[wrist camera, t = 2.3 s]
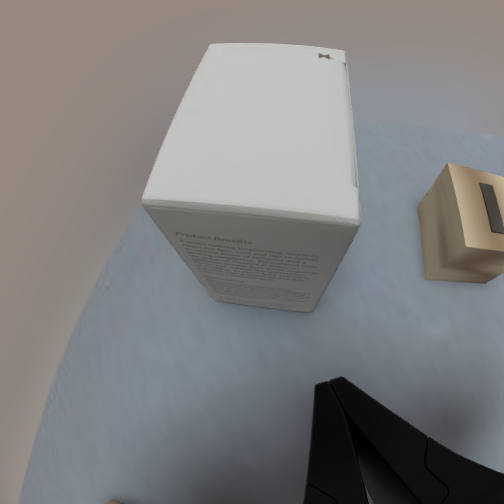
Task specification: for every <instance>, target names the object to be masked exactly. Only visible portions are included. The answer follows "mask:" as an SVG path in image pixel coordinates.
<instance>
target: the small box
mask: <svg viewBox="0 0 504 504" xmlns="http://www.w3.org/2000/svg"><path fill="white" fill-rule="evenodd" d="M140 201H141V203H142V205H143V207H144V209H145V210H146V211H147V213H148V214H149V215H150V217H151V218H152V220H153V221H154V222H155V224H156V225H157V226H158V228H159V229H160V230H161V232H162V233H163V234H164V235H165V237H166V238H167V240H168V241H169V242H170V244H171V245H172V246H173V248H174V249H175V250H176V252H177V253H178V254H179V256H180V257H181V258H182V260H183V261H184V262H185V263H186V265H187V266H188V267H189V269H190V270H191V271H192V272H193V274H194V275H195V276H196V278H197V279H198V280H199V281H200V283H201V284H202V285H203V286H204V288H205V289H206V290H207V291H208V293H209V294H210V295H211V296H212V298H213V299H214V300H216V301H223V302H229V303H235V304H242V305H249V306H257V307H265V308H273V309H281V310H290V311H300V312H312V311H313V310H314V308H315V306H316V305H317V303H318V301H319V299H320V298H321V296H322V294H323V293H324V291H325V289H326V287H327V286H328V284H329V282H330V281H331V279H332V277H333V275H334V273H335V272H336V270H337V268H338V266H339V264H340V262H341V261H342V259H343V257H344V255H345V254H346V252H347V250H348V248H349V246H350V244H351V243H352V241H353V238H354V236H355V235H356V233H357V231H358V229H359V227H360V225H361V221H362V216H361V206H360V194H359V184H358V172H357V160H356V146H355V133H354V123H353V115H352V104H351V95H350V86H349V77H348V63H347V53H346V52H345V51H342V50H336V49H329V48H322V47H312V46H303V45H287V44H268V43H225V44H224V43H223V44H211V45H209V46H208V48H207V50H206V52H205V54H204V55H203V57H202V59H201V61H200V63H199V65H198V66H197V68H196V70H195V73H194V75H193V77H192V79H191V81H190V83H189V85H188V87H187V89H186V91H185V93H184V95H183V97H182V100H181V102H180V104H179V106H178V108H177V110H176V112H175V115H174V117H173V119H172V122H171V124H170V127H169V128H168V131H167V133H166V135H165V138H164V140H163V142H162V145H161V147H160V150H159V153H158V155H157V157H156V160H155V162H154V165H153V168H152V170H151V172H150V175H149V178H148V181H147V183H146V186H145V189H144V191H143V194H142V196H141V199H140Z"/></svg>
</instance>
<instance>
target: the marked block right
mask: <svg viewBox="0 0 504 504" xmlns="http://www.w3.org/2000/svg"><path fill="white" fill-rule="evenodd" d="M417 210H418V216H419V224H420V232H421V240H422V250H423V261H424V274H425V280H439V281H454V282H469V283H484V284H485V283H487V282H488V281H490V280H492V279H493V278H495V277H497V276H498V275H500V274H502V273H503V272H504V177H501V176H498V175H494V174H491V173H487V172H483V171H479V170H476V169H472V168H468V167H464V166H459V165H455V164H451V163H447V164H446V166H445V167H444V169H443V170H442V172H441V174H440V175H439V177H438V178H437V180H436V181H435V183H434V184H433V186H432V187H431V189H430V190H429V191H428V193H427V194H426V196H425V197H424V199H423V200H422V202H421V203H420V204H419V206H418V207H417Z"/></svg>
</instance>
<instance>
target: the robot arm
mask: <svg viewBox="0 0 504 504" xmlns="http://www.w3.org/2000/svg"><path fill="white" fill-rule="evenodd" d="M306 483H307V484H306V487H305V495H304V501H303V504H369V502H368V498H367V494H366V490H365V486H366V488H367V490H368V492H369V494H370V496H371V498H372V500H373V502H374V504H504V474H503V473H500V472H497V471H495V470H492V469H490V468H488V467H485V466H483V465H480V464H478V463H476V462H474V461H471V460H469V459H467V458H465V457H463V456H461V455H459V454H457V453H455V452H453V451H451V450H449V449H448V448H446V447H444V446H443V445H441V444H439V443H438V442H436V441H435V440H433V439H432V438H430V437H428V438H427V435H425V434H424V433H422V432H421V431H420V430H418V429H417V428H415V427H414V426H412V425H411V424H409V423H408V422H406V421H405V420H403V419H402V418H400V417H399V416H398V415H396V414H395V413H393V412H392V411H390V410H389V409H387V408H386V407H385V406H383V405H382V404H380V403H379V402H377V401H376V400H375V399H373V398H372V397H370V396H369V395H368V394H366V393H365V392H363V391H362V390H361V389H359V388H358V387H356V386H355V385H354V384H352V383H351V382H350V381H348V380H347V379H345V378H344V377H338V378H335V379H331V380H330V381H329V382H328V381H325V382H322V383H318V384H316V385H315V388H314V404H313V418H312V430H311V442H310V452H309V462H308V471H307V480H306ZM364 484H365V486H364Z"/></svg>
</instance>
